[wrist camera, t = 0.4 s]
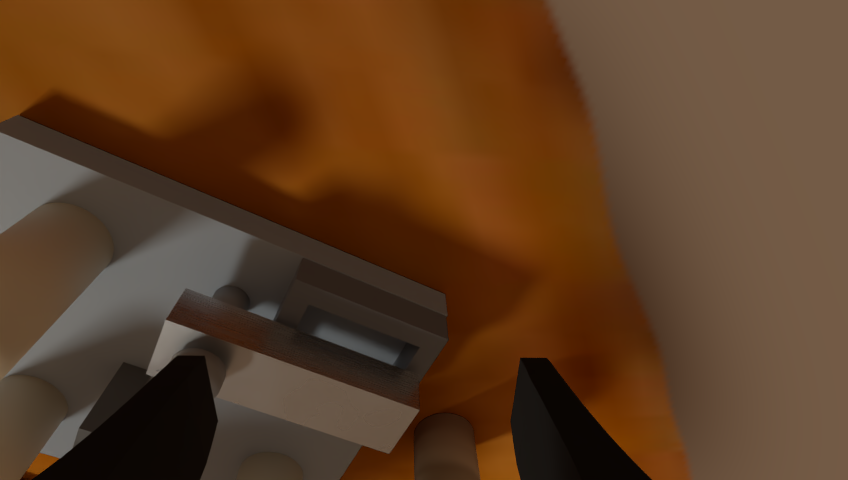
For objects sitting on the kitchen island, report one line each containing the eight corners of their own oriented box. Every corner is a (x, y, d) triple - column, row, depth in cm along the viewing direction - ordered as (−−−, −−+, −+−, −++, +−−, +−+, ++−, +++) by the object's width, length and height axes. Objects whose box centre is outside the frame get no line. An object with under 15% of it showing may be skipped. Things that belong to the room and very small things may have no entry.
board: (312, 501, 29) (285, 663, 23) (-32, 400, 25) (-187, 562, 19) (445, 294, 23) (460, 433, 17) (18, 115, 19) (-189, 205, 12)
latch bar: (166, 339, 20) (145, 373, 18) (185, 287, 19) (165, 319, 17) (390, 417, 22) (389, 454, 20) (418, 375, 21) (419, 409, 19)
